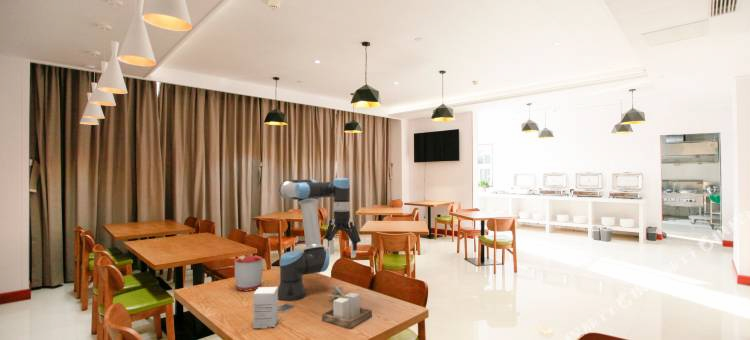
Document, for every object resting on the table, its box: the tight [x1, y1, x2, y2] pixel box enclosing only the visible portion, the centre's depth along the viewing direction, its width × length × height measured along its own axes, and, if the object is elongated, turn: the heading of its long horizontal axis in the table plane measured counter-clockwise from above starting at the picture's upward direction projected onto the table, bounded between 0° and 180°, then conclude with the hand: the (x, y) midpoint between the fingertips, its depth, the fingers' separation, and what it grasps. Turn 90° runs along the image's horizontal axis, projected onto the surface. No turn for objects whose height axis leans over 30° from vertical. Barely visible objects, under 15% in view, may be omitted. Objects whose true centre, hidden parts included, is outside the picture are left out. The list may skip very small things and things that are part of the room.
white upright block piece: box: [344, 292, 361, 318], centre depth 161 cm, size 5×5×9 cm
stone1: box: [332, 297, 350, 320], centre depth 154 cm, size 5×5×9 cm
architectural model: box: [328, 285, 344, 301], centre depth 180 cm, size 3×7×7 cm, turn 67°
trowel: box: [278, 303, 295, 313], centre depth 166 cm, size 16×6×2 cm, turn 146°
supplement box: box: [252, 286, 279, 329], centre depth 152 cm, size 9×9×15 cm
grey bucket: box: [233, 253, 263, 291], centre depth 203 cm, size 16×17×20 cm
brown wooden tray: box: [321, 306, 373, 330], centre depth 158 cm, size 16×16×3 cm
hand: (342, 255), depth 165 cm, fingers open, 13 cm apart
